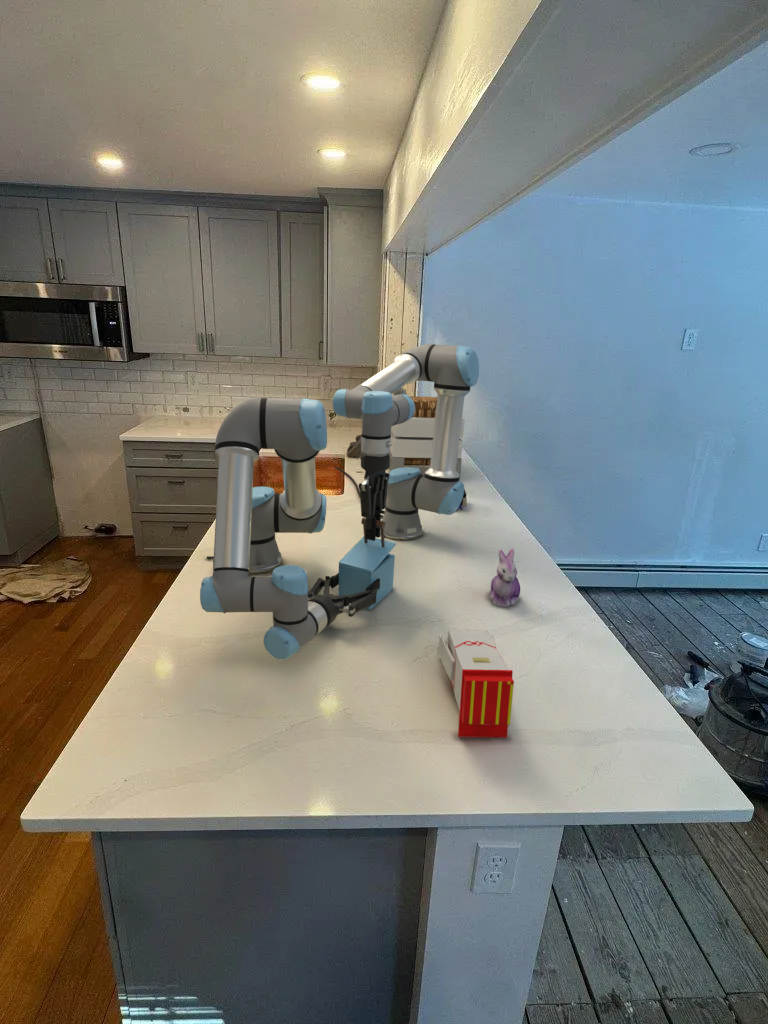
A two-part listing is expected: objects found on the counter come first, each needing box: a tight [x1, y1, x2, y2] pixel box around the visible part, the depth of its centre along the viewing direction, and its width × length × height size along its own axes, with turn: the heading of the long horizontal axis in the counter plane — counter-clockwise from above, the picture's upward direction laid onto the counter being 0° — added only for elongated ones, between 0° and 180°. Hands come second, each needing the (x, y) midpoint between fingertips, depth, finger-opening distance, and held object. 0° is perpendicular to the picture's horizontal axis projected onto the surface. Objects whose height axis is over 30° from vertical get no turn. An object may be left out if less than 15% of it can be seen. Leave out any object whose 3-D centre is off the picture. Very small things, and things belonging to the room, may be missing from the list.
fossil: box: [346, 434, 362, 458], centre depth 305 cm, size 22×10×15 cm
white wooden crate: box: [388, 387, 465, 482], centre depth 268 cm, size 34×33×41 cm
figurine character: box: [458, 488, 468, 511], centre depth 230 cm, size 7×8×15 cm
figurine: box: [489, 547, 521, 608], centre depth 154 cm, size 9×10×15 cm
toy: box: [437, 628, 515, 738], centre depth 117 cm, size 12×13×30 cm
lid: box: [338, 517, 397, 573], centre depth 151 cm, size 14×10×9 cm
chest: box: [337, 553, 396, 611], centre depth 155 cm, size 14×10×11 cm
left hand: (361, 578), depth 152 cm, fingers closed on chest, 10 cm apart
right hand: (372, 537), depth 153 cm, fingers closed on lid, 2 cm apart
